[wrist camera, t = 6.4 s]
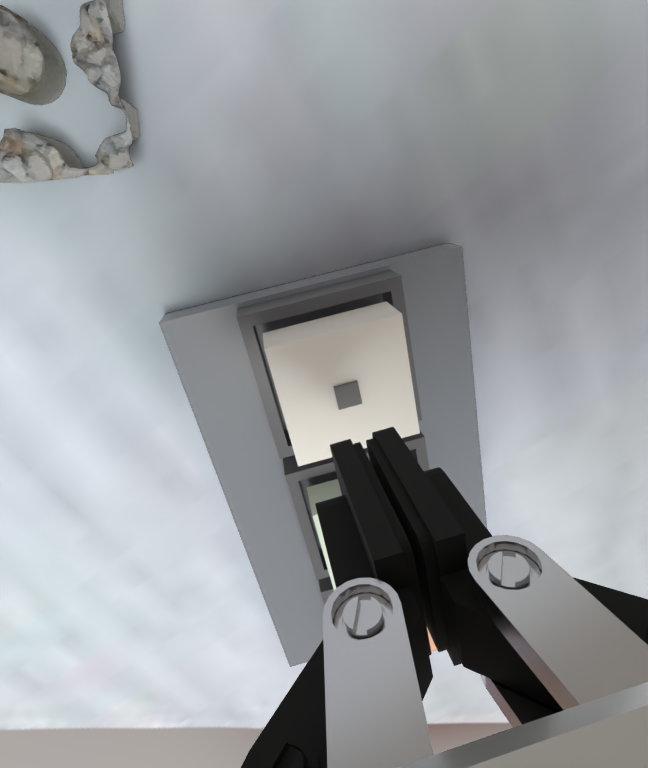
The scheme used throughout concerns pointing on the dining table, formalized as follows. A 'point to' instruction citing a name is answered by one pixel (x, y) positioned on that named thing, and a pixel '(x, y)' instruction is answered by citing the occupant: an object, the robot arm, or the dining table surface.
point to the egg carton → (47, 82)
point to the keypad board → (268, 428)
